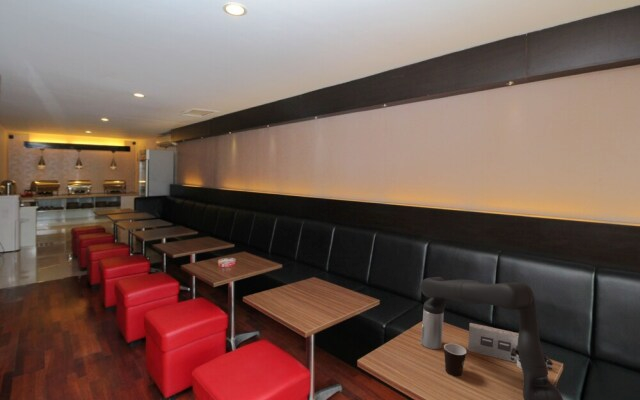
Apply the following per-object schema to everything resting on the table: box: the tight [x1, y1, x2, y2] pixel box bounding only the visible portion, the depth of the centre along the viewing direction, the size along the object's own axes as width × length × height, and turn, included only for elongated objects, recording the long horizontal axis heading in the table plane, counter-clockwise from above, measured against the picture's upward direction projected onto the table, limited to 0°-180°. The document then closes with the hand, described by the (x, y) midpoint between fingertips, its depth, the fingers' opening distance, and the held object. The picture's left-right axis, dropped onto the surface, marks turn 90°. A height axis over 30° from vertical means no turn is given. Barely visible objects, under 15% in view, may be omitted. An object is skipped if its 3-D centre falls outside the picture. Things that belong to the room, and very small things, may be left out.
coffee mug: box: [443, 343, 467, 378], centre depth 130 cm, size 12×9×10 cm
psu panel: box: [467, 322, 519, 364], centre depth 142 cm, size 22×4×12 cm, turn 63°
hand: (527, 349), depth 129 cm, fingers closed on can, 5 cm apart
